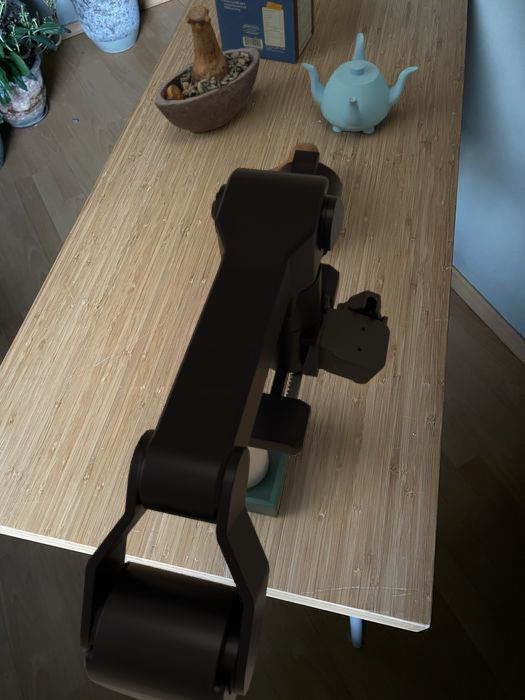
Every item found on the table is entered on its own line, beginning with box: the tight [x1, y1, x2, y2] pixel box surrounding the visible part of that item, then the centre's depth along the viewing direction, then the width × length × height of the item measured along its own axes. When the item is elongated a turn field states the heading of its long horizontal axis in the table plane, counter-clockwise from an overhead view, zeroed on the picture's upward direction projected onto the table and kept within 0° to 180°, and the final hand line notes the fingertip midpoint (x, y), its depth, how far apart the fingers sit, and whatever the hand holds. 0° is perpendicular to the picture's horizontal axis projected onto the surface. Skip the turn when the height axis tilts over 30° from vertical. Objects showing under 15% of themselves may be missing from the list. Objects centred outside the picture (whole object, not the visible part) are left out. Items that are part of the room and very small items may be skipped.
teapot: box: [301, 32, 419, 134], centre depth 96 cm, size 13×13×10 cm
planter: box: [154, 3, 261, 134], centre depth 95 cm, size 15×17×20 cm
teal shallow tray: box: [245, 450, 291, 519], centre depth 69 cm, size 11×11×4 cm
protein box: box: [214, 0, 315, 64], centre depth 107 cm, size 10×15×16 cm
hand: (292, 391), depth 60 cm, fingers open, 9 cm apart
